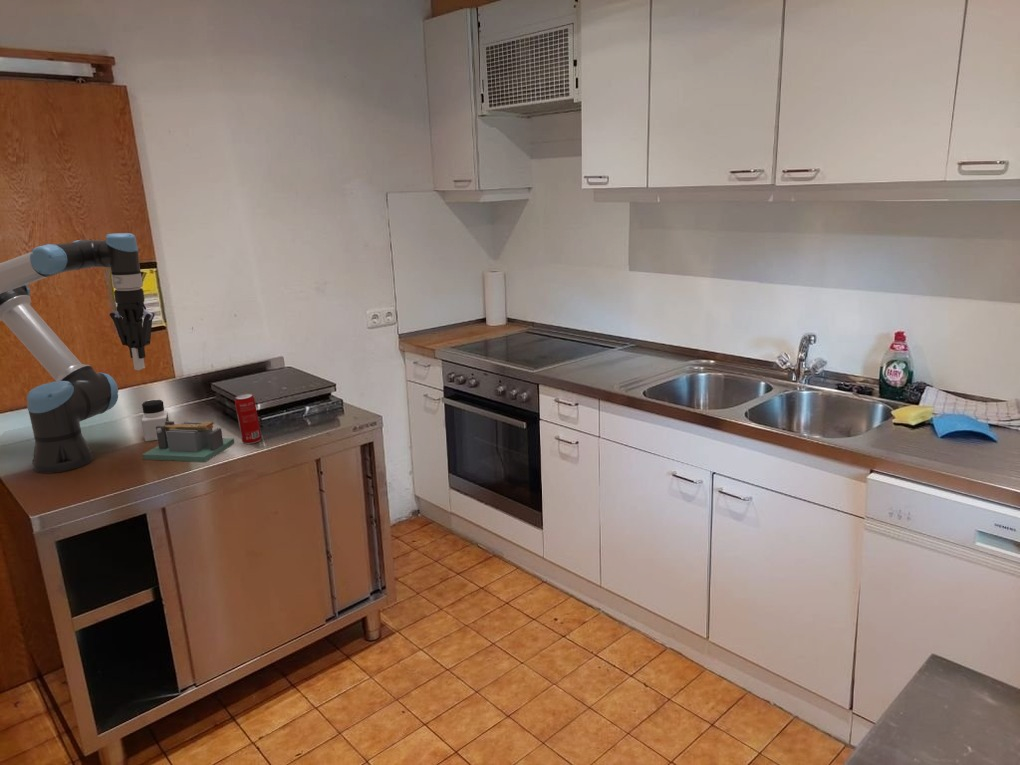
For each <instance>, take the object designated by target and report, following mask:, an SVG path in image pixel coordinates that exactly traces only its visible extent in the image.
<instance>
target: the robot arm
mask: <svg viewBox="0 0 1020 765" xmlns="http://www.w3.org/2000/svg"><path fill="white" fill-rule="evenodd" d="M105 238H106V239H105V240H98V239H97V240H93V239H80V240H74V241H71V242H66V243H56V244H53V243H52V244H50V243H47V244H43V245H41V246H35V247H34V248H33V249H32V250H31V252H30V251H29V252H27V253H25V254H23V255H19V256H17V257H14V258H11V259H9V260H5V261H3V262H0V322H3V323H4V324H5V325H6V326H7V328H9V330H10V331H11V332H12V333H13V334H14V336H16V338H17V339H18V340H19V341H20V342H21V343H22V344H23V345H24V347H25V348H26V349H27V350H28V352H30V354H31V355H32V356H33V357H34V358H35V359H36V361H38V363H40V366H42V367H43V368H44V369H45V371H47V373H48V374H49V375H50V376H51V378H53V380H54V381H50V382H48V383H43V384H41V385H38V386H36V387H33V388H32V389H31V390H29V392H28V393H27V394H26V401H27V406H26V407H27V408H26V409H27V411H28V414H29V419H30V424H31V427H32V433H33V436H34V442H35V444H34V449H33V458H32V462H31V463H32V464H31V465H32V468H33V471H34V472H36V473H42V474H52V473H60V472H61V473H62V472H66V471H67V472H68V471H71V470H74V469H78V468H81V467H83V466H86V465H88V464H89V463H91V462H92V461H93V460H94V455H93V450H92V449H91V448H90V447H89V445H88V443H87V441H86V439H85V438H84V436H83V433H82V429H81V424H80V423H81V422H82V421H85V420H88V419H90V418H93V417H95V416H97V415H101V414H103V413H106V412H107V411H108V410H111V409H112V408H113V407H115V405H116V404H117V402H118V399H119V388H118V385H117V382H116V381H115V379H114V378H113V376H111V375H110V374H108V373H104V372H97V371H96V370H95V369H94V368H93V366H92V365H91V364H83V363H82V362H81V360H79V359H78V358H77V356H76V355H74V353H73V352H72V351H71V350H70V348H69V347H67V345H66V344H65V343H64V342H63V340H61V338H60V336H58V335H57V334H56V333H55V331H53V329H52V328H51V327H50V326H49V325H48V324H47V323H46V320H45V321H44V319H43V318H42V317H41V316H40V315H39V313H38V312H37V311H36V310H35V308H33V307H32V306H31V301H32V298H31V296H30V295H31V289H30V288H29V286H30V285H29V284H32V283H35V282H37V281H41V280H43V279H46V278H49V277H53V276H55V275H59V274H62V273H66V272H71V271H72V272H73V271H78V270H79V271H80V270H84V269H85V270H86V269H93V268H109V269H110V273H111V274H110V275H111V280H112V287H113V289H115V290H114V291H113V294H114V295H113V296H114V302H115V303H116V310H114V311H113V312H110V313H109V317H110V318H111V320H112V321H113V323H114V326H115V328H116V331H117V334H118V337H119V339H120V340H119V341H120V342H121V344H122V346H126V347H128V349H129V354H130V359H132V362H133V370H134V371H140V370H143V369H145V368H146V365H145V358H146V350H145V347H146V346H148V345H150V344H151V339H152V338H151V337H152V328H153V327H152V326H153V320H154V318H155V313H154V312H149V311H148V310H147V308H146V305H145V293H144V289H143V288H142V287H143V286H144V284H143V278H142V271H141V266H140V257H139V247H138V243H137V239H136V236H135V234H133V233H128V232H124V233H123V232H119V233H118V232H117V233H114V232H113V233H108V234H106V236H105Z"/></svg>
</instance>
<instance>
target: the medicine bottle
mask: <svg viewBox="0 0 1020 765" xmlns="http://www.w3.org/2000/svg"><path fill="white" fill-rule="evenodd" d="M141 407H142V412H143V415H142V418H141V426H142V433H143V439H144V441H145V442H152V441H158V438H157V432H156V426H164V425H165V422H166V421H170V419H169V415H168V411H165V406H164V401H163V400H161V399H158V398H157V399H156V398H155V399H148V400H146V401H144V402H143V403H142V404H141ZM166 435H167V432H166Z"/></svg>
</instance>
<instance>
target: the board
mask: <svg viewBox="0 0 1020 765" xmlns="http://www.w3.org/2000/svg"><path fill="white" fill-rule="evenodd" d="M201 423H202V422H195V421H194V422H193V421H184V422H183V423H181V424H201ZM166 424H175V421H173V420H171V421H170V420H169V421H166V422H165V425H166ZM156 432H157V438H158V440H157V444H158V445H157V446H155V447H153V448H151V449H150V450H147V452H144V453H142V459H143V460H152V461H154V460H155V461H170V462H171V461H172V460H175V461H174V462H193V461H198V462H199V463H206V462H207V461H209V460H210V459H212V458H213V456H214V457H216V454H217V455H218V454H220V453H221V452H223V451H224V450H226V449H227V448H229V447H231V446H232V445H234V444H235V438H227V437H226V438H225V437H223V433H222V432H223V431H222V427H221V428H220V427H219V428H218V427H217V428H215V429H213V428H211V429H210V430H172V429H171V430H166V429H165V426H156ZM166 432H167V435H166Z"/></svg>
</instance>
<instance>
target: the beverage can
mask: <svg viewBox="0 0 1020 765" xmlns="http://www.w3.org/2000/svg"><path fill="white" fill-rule="evenodd" d="M234 399H235V400H234V405H235V406H234V407H235V409H236V416H237V421H238V427H239V430H240V436H241V437H240V438H241V441H242V443H243V444H245V445H246V444H247V445H251V444H256V443H259V442H260V441H261V440H262V433H261V428H260V422H259V417H258V412H257V406H256V400H255V397H254V395H253V394H252V393H241V394H238V395H236V396H235V398H234Z"/></svg>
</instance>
